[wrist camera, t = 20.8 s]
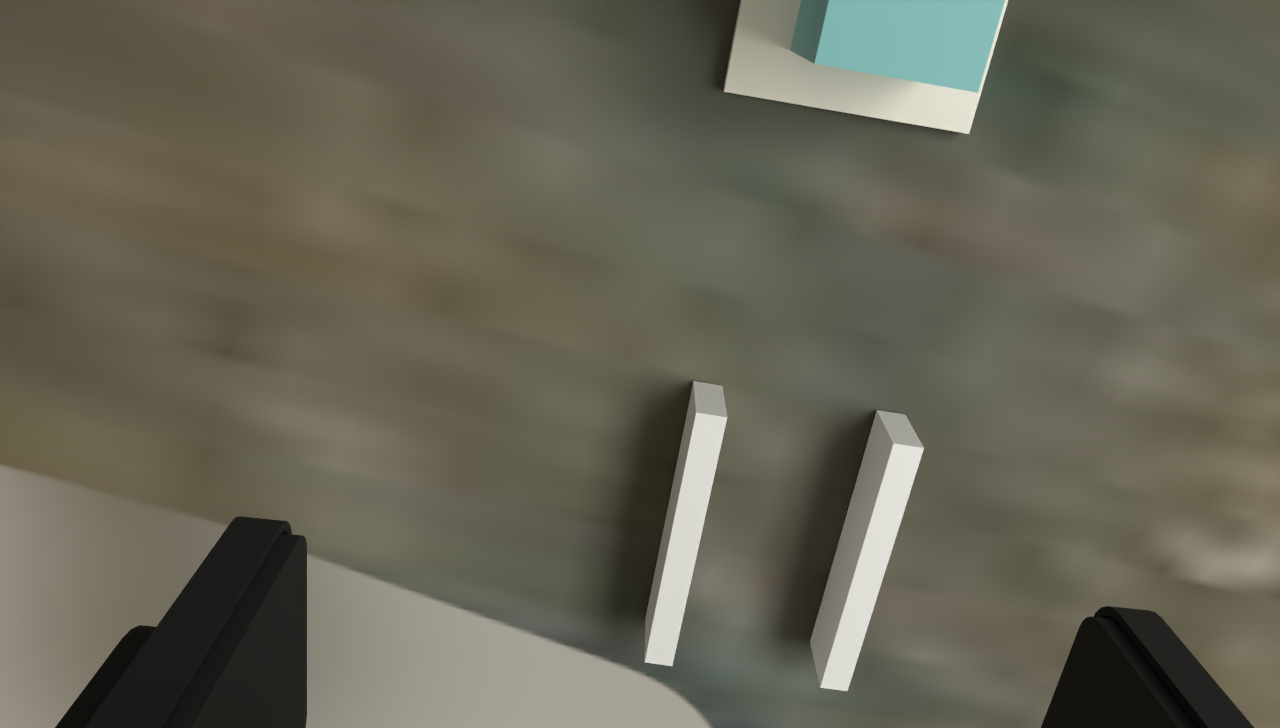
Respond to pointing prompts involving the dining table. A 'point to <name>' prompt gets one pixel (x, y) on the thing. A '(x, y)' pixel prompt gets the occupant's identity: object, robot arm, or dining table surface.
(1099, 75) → the dining table surface
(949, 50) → the teal block
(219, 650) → the robot arm
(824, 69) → the tile
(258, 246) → the dining table surface
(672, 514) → the channel
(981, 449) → the dining table surface
